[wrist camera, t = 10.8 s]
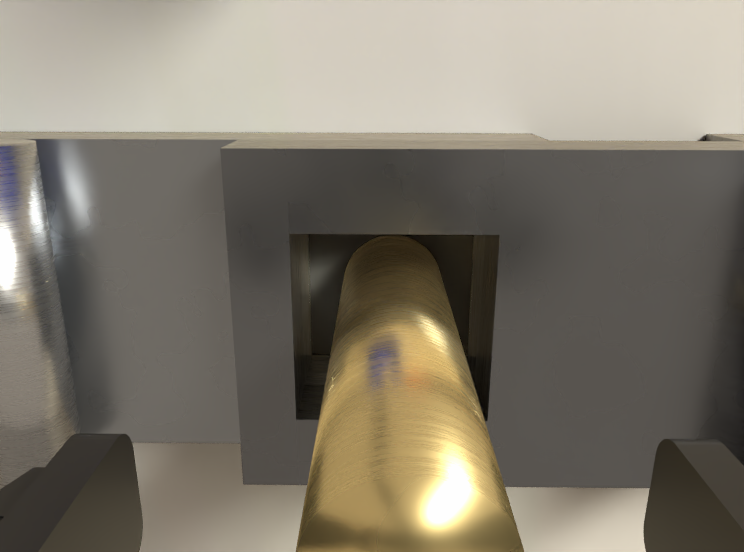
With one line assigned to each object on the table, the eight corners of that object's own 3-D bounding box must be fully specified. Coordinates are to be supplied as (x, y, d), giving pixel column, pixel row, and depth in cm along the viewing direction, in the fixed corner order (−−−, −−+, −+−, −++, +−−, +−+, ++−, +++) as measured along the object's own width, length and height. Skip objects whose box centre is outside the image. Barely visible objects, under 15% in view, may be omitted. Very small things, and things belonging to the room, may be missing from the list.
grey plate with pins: (-57, 131, 18) (-273, 160, 12) (847, 134, 18) (1084, 165, 12) (-2, 407, 21) (-157, 543, 15) (784, 414, 21) (951, 554, 15)
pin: (342, 234, 19) (288, 473, 8) (442, 234, 19) (535, 476, 8) (344, 326, 20) (298, 661, 9) (438, 327, 20) (517, 664, 9)
